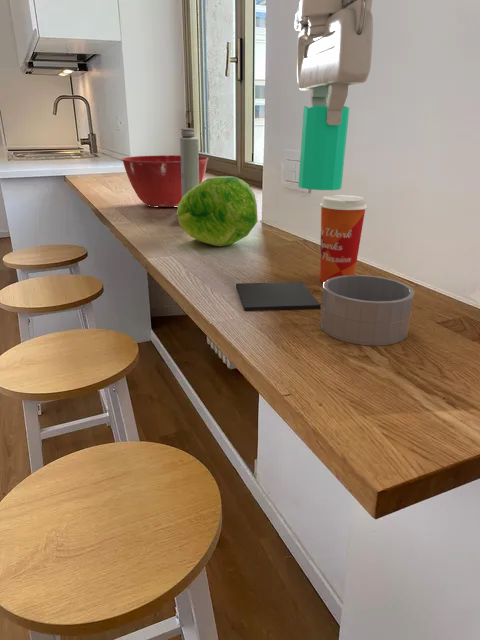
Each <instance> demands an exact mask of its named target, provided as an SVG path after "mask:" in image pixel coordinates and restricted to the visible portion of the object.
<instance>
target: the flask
mask: <svg viewBox="0 0 480 640" xmlns="http://www.w3.org/2000/svg"><path fill="white" fill-rule="evenodd" d="M179 131H180V137H179V147H180V149H179V152H180V154H179V155H181V188H182V198H183V196H184V195H185V194H186V193H187V192H188V191H190V190H191V189H192V188H194V187H195V186H197V185H198V184H199V156H200V155H199V154H200V153H199V152H200V151H199V147H200V146H199V138H197V137H196V136H195V128H192V127H183V128H180V129H179Z"/></svg>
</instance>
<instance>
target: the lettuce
mask: <svg viewBox="0 0 480 640" xmlns="http://www.w3.org/2000/svg"><path fill="white" fill-rule="evenodd" d="M176 216H177V220H178V223H179V225H180V227H182V229H183V230H184V232H185V233H186V234H187V236H189V237H190V238H193V239H194V240H196V241H198V242H201V243H204V244H208V245H211V246H214V247H224V246H229V245H233V244H235V243H236V242H239V241H240V240H243V239H244V238H246V237H247V236H248V235H249V234H250V233H251V231H252V230H253V229H254V227H255V226H256V225H257V223H258V204H257V200H256V195H255V193H254V191H253V189H252V188H251V186H250V185H249V183H248V182H246V181H244V180H243V179H241V178H239V177H237V176H233V175H230V176H229V175H224V176H219V175H217V176H213V177H209V178H207V179H205V180H203V181H202V182H201V183H200V184H198V185H197V186H195V187H194V188H192V189H191V190H190V191H188V192H187V193H186V194H185V195H184V196H183V198H182V199H181V201H180V203H179V204H178V207H177V212H176Z"/></svg>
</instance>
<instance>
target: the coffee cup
mask: <svg viewBox="0 0 480 640" xmlns="http://www.w3.org/2000/svg"><path fill="white" fill-rule="evenodd" d="M366 203H367V201H366V199H365V197H362V196H359V195H348V194H331V195H325V196H323V197H322V199H321V202H320V203H319V207H320V248H319V249H320V252H319V253H320V254H319V255H320V256H319V267H320V268H319V279H320V282H322V283H323V284H324V282H325V281H326V280H328V279H330V278H333V277H337V276H344V275H356V267H357V262H358V255H359V249H360V245H361V244H360V243H361V238H362V232H363V231H362V230H363V226H364V219H365V213H366V210H368V205H367V204H366Z"/></svg>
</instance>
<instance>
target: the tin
mask: <svg viewBox="0 0 480 640" xmlns="http://www.w3.org/2000/svg"><path fill="white" fill-rule="evenodd" d="M415 295H416V292H415V289H414V288H412V287H411V286H410V285H408V284H406V283H405V282H402V281H399V280H397V279H392V278H390V277H389V278H388V277H385V276H384V277H383V276H377V275H368V274H354V275H344V276H337V277H333V278H330V279H328V280H326V281H325V282H324V283H323V284H322V295H321V296H322V297H321V308H320V320H319V325H320V328H321V330H322V332H324V333H325V334H327V335H328V336H330V337H331V338H334V339H337V340H339V341H342V342H345V343H349V344H354V345H360V346H371V347H372V346H373V347H374V346H375V347H376V346H377V347H379V346H388V345H394V344H397V343H400V342H402V341H404V340H405V339H406V338H407V337H408V335H409V332H410V326H411V321H412V313H413V308H414V301H415Z"/></svg>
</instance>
